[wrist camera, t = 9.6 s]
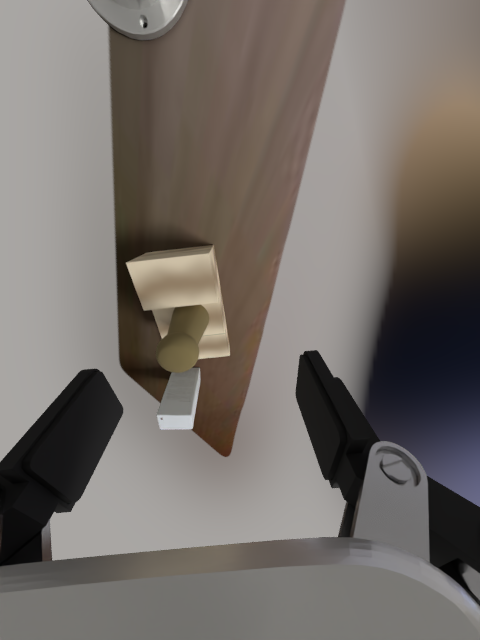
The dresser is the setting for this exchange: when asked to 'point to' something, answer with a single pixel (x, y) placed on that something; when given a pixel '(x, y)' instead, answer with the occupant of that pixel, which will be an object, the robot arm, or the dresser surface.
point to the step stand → (183, 291)
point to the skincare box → (179, 400)
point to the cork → (182, 338)
